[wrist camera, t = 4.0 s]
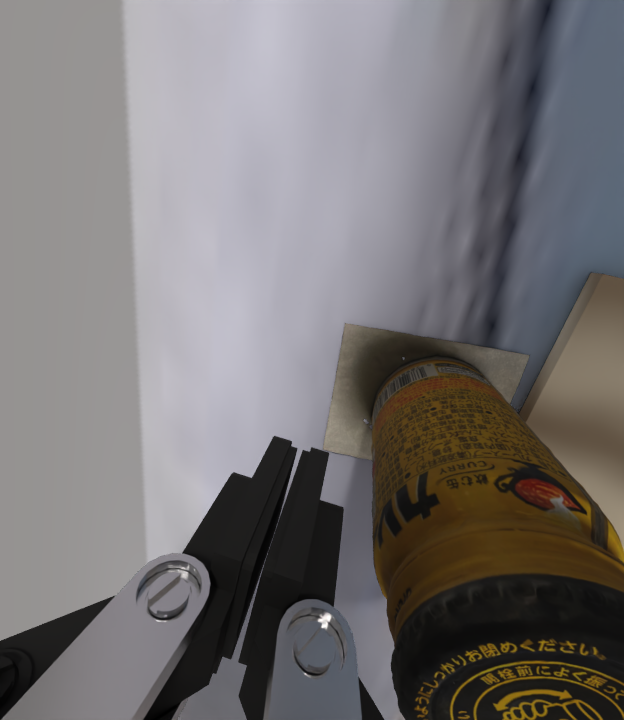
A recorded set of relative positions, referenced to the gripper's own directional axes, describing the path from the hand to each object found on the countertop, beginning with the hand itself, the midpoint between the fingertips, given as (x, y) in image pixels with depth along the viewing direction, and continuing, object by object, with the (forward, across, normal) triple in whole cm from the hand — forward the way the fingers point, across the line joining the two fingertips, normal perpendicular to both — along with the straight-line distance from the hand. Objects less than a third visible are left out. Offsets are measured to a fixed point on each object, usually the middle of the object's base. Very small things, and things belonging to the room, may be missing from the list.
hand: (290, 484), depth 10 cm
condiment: (+8, -5, 0) cm, 10 cm away
